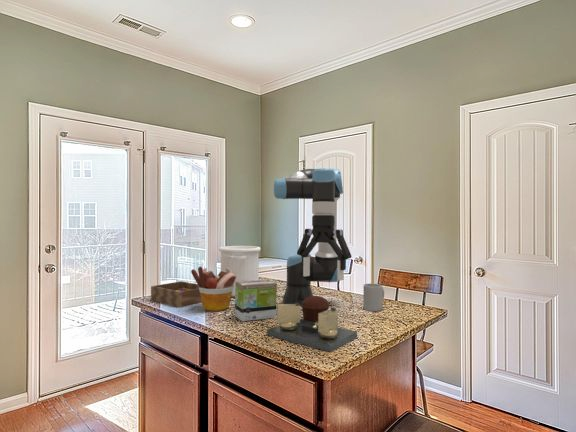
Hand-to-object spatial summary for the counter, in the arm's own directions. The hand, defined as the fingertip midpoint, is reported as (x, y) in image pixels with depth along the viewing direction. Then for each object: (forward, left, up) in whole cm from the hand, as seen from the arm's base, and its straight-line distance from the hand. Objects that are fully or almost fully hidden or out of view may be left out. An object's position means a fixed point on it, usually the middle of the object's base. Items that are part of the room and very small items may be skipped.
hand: (322, 278), depth 125 cm
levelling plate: (-6, +3, -21) cm, 22 cm away
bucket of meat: (-62, +8, -22) cm, 66 cm away
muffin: (-15, +19, -22) cm, 32 cm away
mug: (-5, +54, -22) cm, 58 cm away
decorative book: (-87, +8, -21) cm, 90 cm away
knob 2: (+2, +1, -19) cm, 19 cm away
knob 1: (-14, 0, -19) cm, 24 cm away
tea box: (-38, +9, -22) cm, 45 cm away
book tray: (-87, +8, -21) cm, 90 cm away
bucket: (-76, +38, -22) cm, 88 cm away
